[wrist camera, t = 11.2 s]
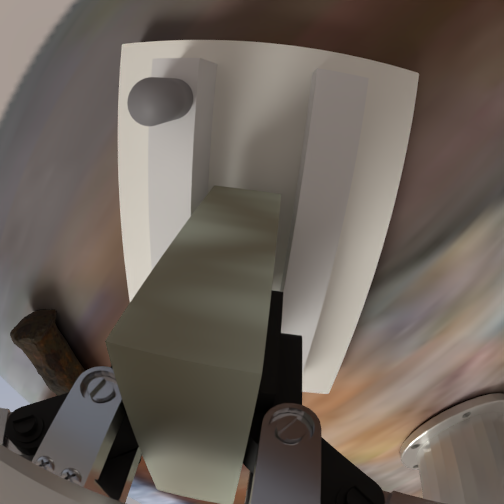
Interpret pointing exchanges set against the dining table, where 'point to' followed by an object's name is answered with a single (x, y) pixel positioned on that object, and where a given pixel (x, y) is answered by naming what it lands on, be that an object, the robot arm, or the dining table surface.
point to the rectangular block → (200, 344)
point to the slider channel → (269, 167)
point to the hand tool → (48, 350)
